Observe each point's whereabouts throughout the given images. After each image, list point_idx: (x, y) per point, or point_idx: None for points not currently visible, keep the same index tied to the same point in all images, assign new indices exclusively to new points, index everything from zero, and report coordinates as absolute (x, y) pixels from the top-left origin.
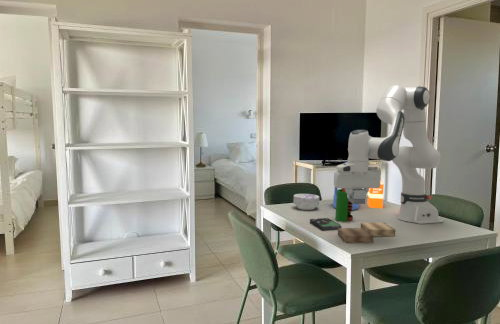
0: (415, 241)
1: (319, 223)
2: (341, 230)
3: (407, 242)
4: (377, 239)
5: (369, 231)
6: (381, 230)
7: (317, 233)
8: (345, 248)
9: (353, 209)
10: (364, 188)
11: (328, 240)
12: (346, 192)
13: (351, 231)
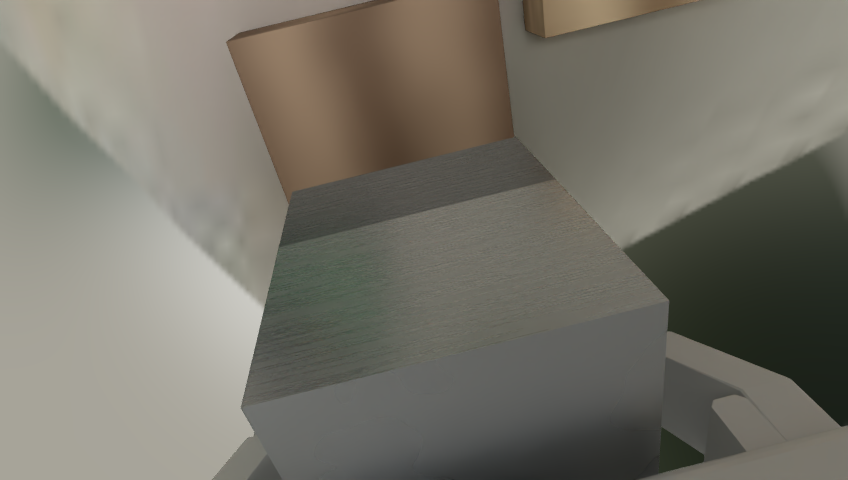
0: (819, 97)
1: None
2: (269, 119)
3: (749, 134)
4: (563, 107)
5: (537, 24)
6: (653, 9)
7: (32, 32)
8: None
9: None
10: (731, 451)
11: (184, 214)
12: (228, 473)
13: (363, 132)
